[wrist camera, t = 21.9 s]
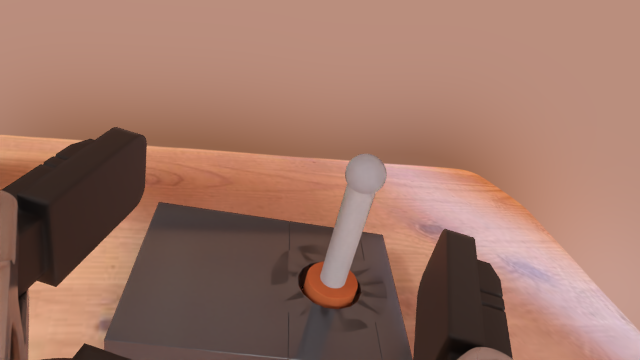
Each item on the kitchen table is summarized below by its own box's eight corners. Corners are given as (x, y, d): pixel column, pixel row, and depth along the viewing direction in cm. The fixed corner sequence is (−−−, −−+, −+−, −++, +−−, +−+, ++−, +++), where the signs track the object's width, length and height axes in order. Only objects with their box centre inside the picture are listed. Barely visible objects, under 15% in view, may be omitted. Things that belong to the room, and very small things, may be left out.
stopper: (299, 322, 41) (344, 167, 33) (299, 284, 45) (339, 137, 37) (351, 328, 42) (406, 178, 34) (346, 290, 46) (395, 147, 38)
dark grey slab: (104, 363, 34) (103, 339, 33) (157, 222, 48) (158, 201, 46) (405, 392, 38) (416, 372, 36) (375, 253, 51) (382, 234, 50)
